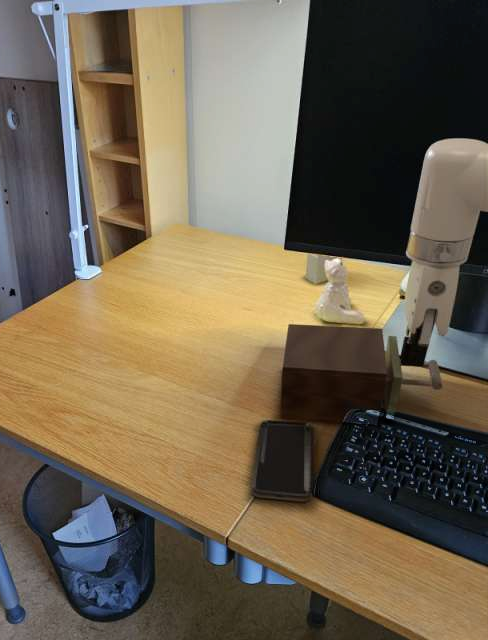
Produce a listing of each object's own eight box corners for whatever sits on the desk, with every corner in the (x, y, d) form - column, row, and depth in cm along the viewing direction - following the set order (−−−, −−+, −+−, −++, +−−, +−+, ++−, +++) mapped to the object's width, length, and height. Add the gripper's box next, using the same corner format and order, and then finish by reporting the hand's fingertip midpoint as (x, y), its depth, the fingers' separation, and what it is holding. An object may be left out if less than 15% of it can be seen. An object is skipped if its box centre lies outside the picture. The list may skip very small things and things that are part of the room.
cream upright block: (340, 276, 125) (344, 232, 119) (315, 283, 123) (319, 239, 117) (329, 270, 128) (333, 227, 122) (305, 278, 125) (308, 234, 119)
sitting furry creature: (366, 325, 107) (375, 266, 100) (323, 331, 107) (328, 272, 99) (347, 303, 115) (354, 247, 108) (307, 308, 114) (311, 252, 107)
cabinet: (374, 378, 94) (382, 328, 88) (377, 426, 84) (387, 373, 78) (286, 372, 97) (288, 323, 91) (279, 418, 87) (282, 366, 81)
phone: (313, 423, 83) (311, 497, 72) (312, 429, 84) (310, 503, 72) (260, 419, 85) (250, 491, 73) (260, 425, 86) (250, 497, 74)
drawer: (428, 379, 91) (438, 338, 86) (438, 423, 82) (449, 380, 77) (305, 371, 95) (308, 331, 90) (302, 412, 86) (305, 371, 81)
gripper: (481, 270, 66) (445, 394, 77) (460, 224, 77) (431, 338, 88) (413, 267, 67) (388, 390, 78) (403, 223, 79) (382, 335, 90)
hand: (411, 362), depth 83 cm, fingers closed
